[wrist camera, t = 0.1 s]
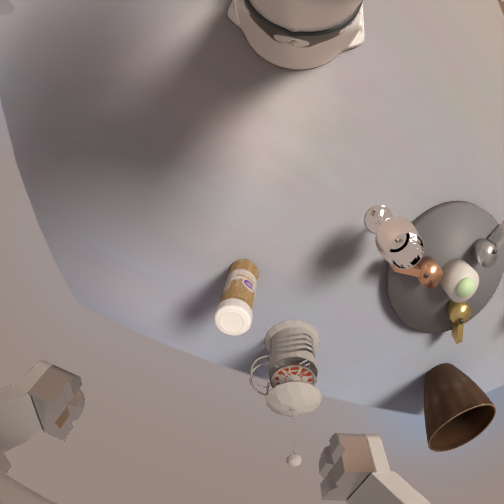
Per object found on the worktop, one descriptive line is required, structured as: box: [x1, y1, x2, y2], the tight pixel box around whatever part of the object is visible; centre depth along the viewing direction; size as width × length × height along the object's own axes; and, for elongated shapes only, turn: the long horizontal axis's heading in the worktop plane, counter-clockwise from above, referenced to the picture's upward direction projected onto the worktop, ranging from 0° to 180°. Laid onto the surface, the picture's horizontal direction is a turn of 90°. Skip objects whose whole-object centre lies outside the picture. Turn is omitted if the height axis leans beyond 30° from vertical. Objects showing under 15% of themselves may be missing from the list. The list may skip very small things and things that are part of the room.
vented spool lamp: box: [250, 320, 321, 467], centre depth 44 cm, size 10×12×25 cm
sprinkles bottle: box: [214, 259, 258, 335], centre depth 44 cm, size 5×5×13 cm
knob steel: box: [472, 221, 504, 268], centre depth 40 cm, size 8×4×3 cm, turn 139°
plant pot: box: [424, 363, 496, 452], centre depth 50 cm, size 15×15×16 cm
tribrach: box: [386, 201, 504, 333], centre depth 44 cm, size 24×24×7 cm
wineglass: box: [365, 205, 424, 269], centre depth 39 cm, size 6×6×12 cm
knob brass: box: [445, 300, 471, 344], centre depth 47 cm, size 8×4×3 cm, turn 19°
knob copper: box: [389, 256, 443, 289], centre depth 43 cm, size 8×4×3 cm, turn 79°
